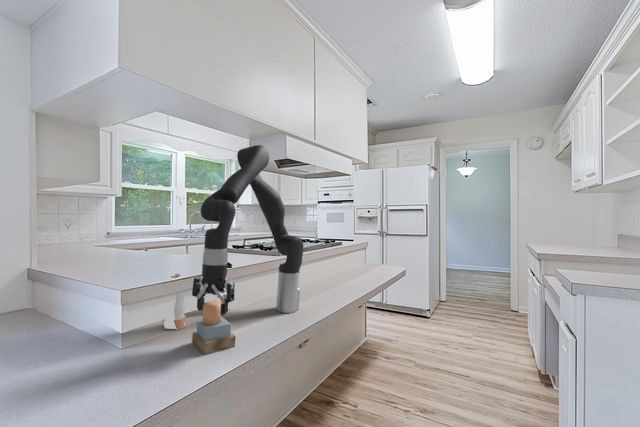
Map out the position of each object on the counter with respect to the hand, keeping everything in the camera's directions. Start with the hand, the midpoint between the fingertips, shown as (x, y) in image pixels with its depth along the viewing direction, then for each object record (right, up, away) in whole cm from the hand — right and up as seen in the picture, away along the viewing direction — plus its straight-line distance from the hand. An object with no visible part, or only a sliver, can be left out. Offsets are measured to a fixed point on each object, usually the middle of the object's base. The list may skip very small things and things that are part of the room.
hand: (211, 312), depth 101 cm
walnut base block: (0, -11, +1) cm, 11 cm away
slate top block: (0, -7, +1) cm, 7 cm away
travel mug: (-8, -10, +35) cm, 37 cm away
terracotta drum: (0, -3, 0) cm, 3 cm away
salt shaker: (-18, -10, +14) cm, 25 cm away
